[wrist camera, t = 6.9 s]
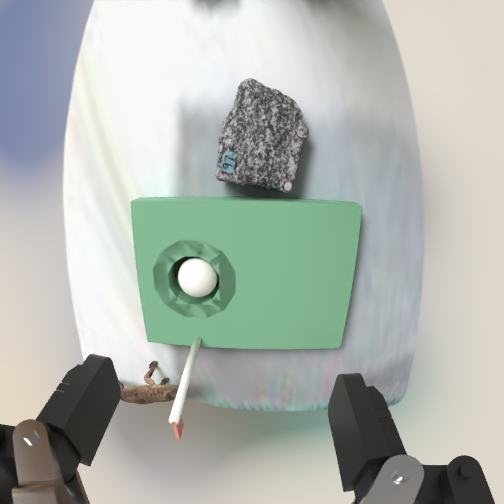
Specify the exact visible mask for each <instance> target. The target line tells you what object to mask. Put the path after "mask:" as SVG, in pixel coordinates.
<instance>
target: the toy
mask: <svg viewBox="0 0 504 504" xmlns="http://www.w3.org/2000/svg"><path fill="white" fill-rule="evenodd" d="M157 363H158V362H157V361H153V362H152V363H151V364H150V366H149V368H151V369H150V370H149V371H148V373H147V374H146V375H145V377H144V380H145V382H146V383H147V384H150V385H144V386H134V387H129V388H125V389H123V388H124V386H123V385H122V384H121V383H120V382H119V384H120V388H121V396H120V399H121V400H123V401H125V402H130V403H137V404H148V403H153V402H162V401H163V402H164V401H171V400H174V399H175V398H176V395H177V391H178V388H179V386H176V385H165V384H166V383H167V382H168V381H169V378H165V379H163V380H162V381H161V383H160V384H159V385H154V384H155V382H154V381H153V380H152V379H151V378H150V377H151V376H152V374H153V372H154V370H155V367H156V365H157Z"/></svg>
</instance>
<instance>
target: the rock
mask: <svg viewBox="0 0 504 504" xmlns="http://www.w3.org/2000/svg"><path fill="white" fill-rule="evenodd" d="M302 118H303V116H302V112H301V110H300V108H299V107H298V105H297V104H296V102H295V101H294V100H293V99H291V98H290V97H288V96H286V95H283V94H282V93H281V92H280V91H278V90H276V89H271V88H268V87H266V86H264V85H263V84H262V83H259V82H257V81H256V80H254V79H251V78H249V79H246V80H244V81H243V82H241V83H240V85H239V86H238V92H237V95H236V99H235V102H234V107H233V108H232V110H231V111H230V113H229V115H228V116H227V117H226V119H225V120H224V122H223V127H222V131H221V134H220V137H219V151H218V153H219V156H218V162H217V169H216V178H217V179H218V180H219V181H224V182H234V183H236V184H239V185H242V186H246V185H248V186H249V185H252V186H253V187H255V188H257V189H263V190H268V191H269V190H272V191H282V192H285V193H289V192H290V190H291V188H292V186H293V182H294V180H295V177H296V171H297V166H298V160H299V158H300V155H301V150H302V146H303V144H302V143H303V142H304V140H306V138H308V136H309V132H308V129H307V128H306V127H305V126H304V125H303V124H302Z"/></svg>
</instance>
